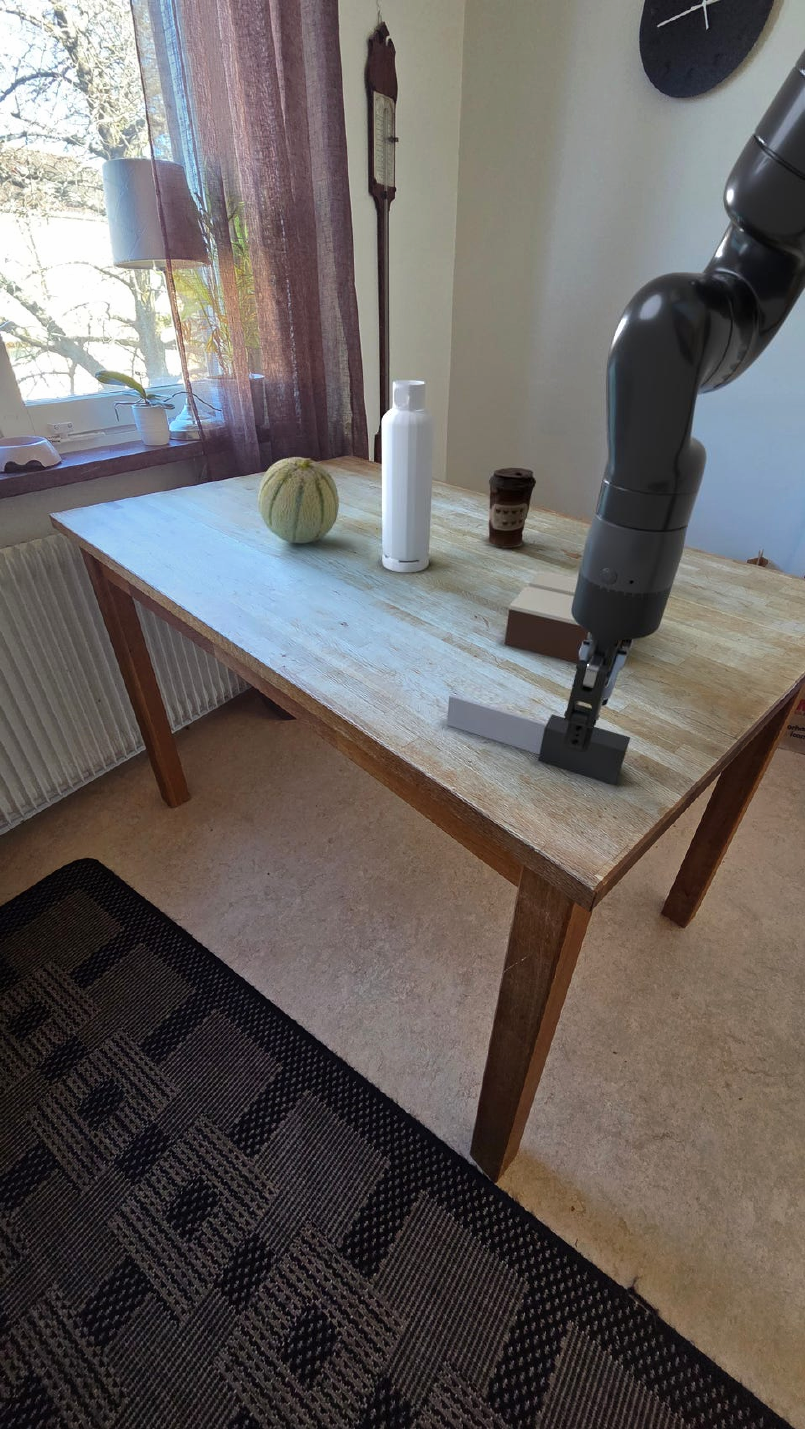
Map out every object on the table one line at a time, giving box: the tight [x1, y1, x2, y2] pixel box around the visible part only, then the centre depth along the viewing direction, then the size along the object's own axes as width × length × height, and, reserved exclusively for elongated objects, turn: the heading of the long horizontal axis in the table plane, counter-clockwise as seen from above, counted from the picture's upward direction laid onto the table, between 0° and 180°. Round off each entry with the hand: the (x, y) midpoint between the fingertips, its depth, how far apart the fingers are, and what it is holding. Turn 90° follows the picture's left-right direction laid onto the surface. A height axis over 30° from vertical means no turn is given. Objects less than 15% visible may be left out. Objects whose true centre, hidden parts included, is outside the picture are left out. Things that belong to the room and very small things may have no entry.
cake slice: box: [528, 570, 578, 596], centre depth 87 cm, size 12×5×6 cm, turn 62°
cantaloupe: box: [257, 456, 340, 544], centre depth 109 cm, size 15×15×15 cm
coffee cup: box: [488, 467, 537, 549], centre depth 110 cm, size 9×8×13 cm
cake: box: [504, 585, 589, 664], centre depth 82 cm, size 12×7×6 cm, turn 62°
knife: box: [446, 693, 631, 786], centre depth 63 cm, size 19×3×4 cm, turn 62°
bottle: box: [381, 379, 436, 573], centre depth 97 cm, size 8×8×28 cm
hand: (586, 723), depth 60 cm, fingers open, 8 cm apart
